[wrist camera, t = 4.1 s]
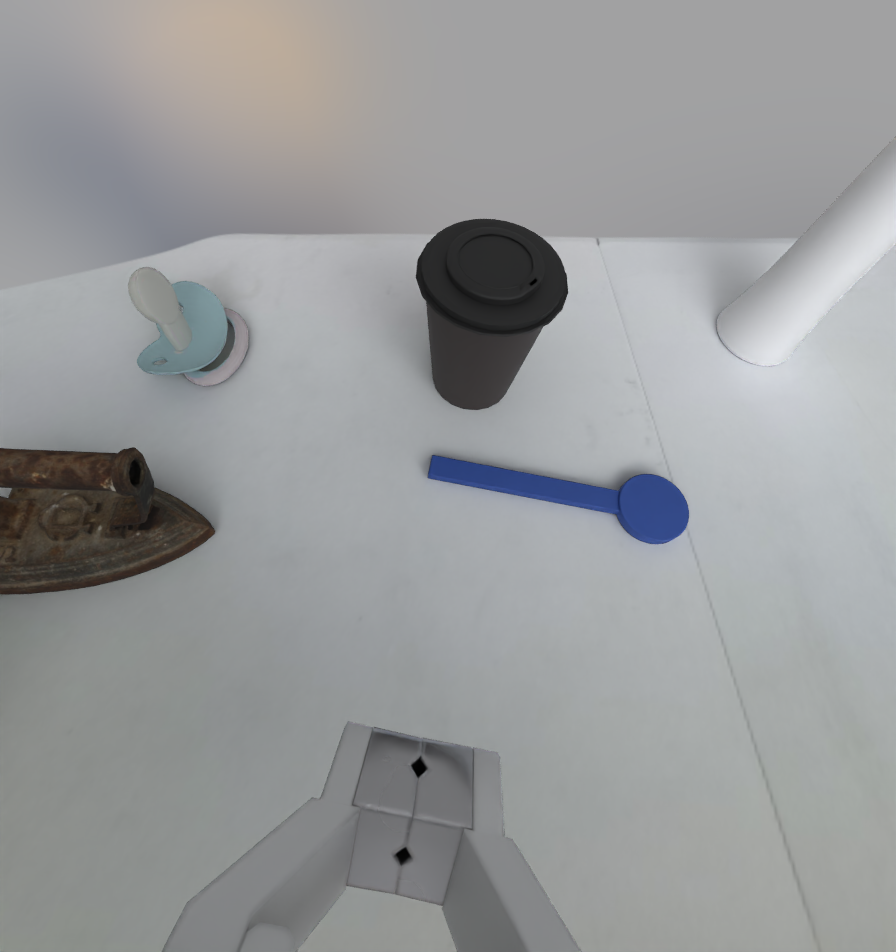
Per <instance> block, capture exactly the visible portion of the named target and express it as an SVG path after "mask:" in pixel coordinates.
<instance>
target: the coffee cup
mask: <svg viewBox="0 0 896 952" xmlns="http://www.w3.org/2000/svg"><path fill="white" fill-rule="evenodd" d="M416 279H417V282H418V285H419V288H420V291H421V294H422V296H423V298H424V299H425V300H426V306H427V317H428V329H429V341H430V352H431V364H432V376H433V381H434V384H435V387H436V389H437V391H438V392H439V393H440V395H441V396H442V397H443V398H444V399H445V400H447V401H448V402H449V403H451V404H452V405H455V406H458V407H460V408H463V409H472V410H478V409H483V408H488V407H490V406H492V405H494V404H496V403H498V402H499V401H500V400H501V399H502V397H503V396H504V395H505V394H506V392H507V390H508V388H509V387H510V385H511V383H512V381H513V380H514V378H515V376H516V374H517V372H518V371H519V369H520V367H521V365H522V364H523V362H524V360H525V358H526V356H527V355H528V353H529V351H530V349H531V348H532V346H533V344H534V342H535V340H536V339H537V337H538V335H539V333H540V331H541V330H542V328H543V326H545V325H547V324H549V323H550V322H551V321H552V320H553V319H554V318H555V317H556V316H557V314H558V313H559V312H560V311H561V310H562V308H563V306H564V303H565V300H566V297H567V295H568V286H567V275H566V272H565V270H564V266H563V264H562V261H561V259H560V258H559V256H558V254H557V253H556V251H555V250H554V249H553V248H552V247H551V245H550V244H548V243H547V242H546V241H545V240H544V239H543V238H541V237H540V236H538V235H537V234H536V233H534V232H532V231H530V230H528V229H526V228H524V227H522V226H519V225H516V224H514V223H510V222H506V221H501V220H495V219H473V220H468V221H463V222H459V223H456V224H453V225H451V226H449V227H447V228H445V229H443V230H442V231H440V232H439V233H438V234H437V235H436V236H434V237H433V238H432V239H431V241H430V242H429V243H427V245H426V246H425V248H424V250H423V252H422V253H421V255H420V257H419V259H418V262H417V272H416Z"/></svg>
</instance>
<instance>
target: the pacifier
mask: <svg viewBox="0 0 896 952" xmlns="http://www.w3.org/2000/svg"><path fill="white" fill-rule="evenodd" d="M128 290H129V295H130V298H131V300H132V302H133V304H134V306H135V307H136V308H137V310H138V311H139V312H140V313H141V314H142V315H143V316H145V317H146V318H147V319H149V320H151V321H153V322H155V323H156V325H157V328H158V330H159V332H160V334H161V336H160V338H159V339H158V340H156V341H155V342H153V343H152V344H151V345H149V346H148V347H147V348H146V349H144V350H143V352H142V353H141V354H140V355H139V357H138V359H137V364H138V366H139V367H140V368H141V369H142V370H143V371H145V372H147V373H151V374H157V375H174V374H182V373H183V374H184V375H185V376H186V378H187V379H188V380H190V381H191V382H193V383H194V384H198V385H202V386H210V385H215V384H218V383H220V382H223V381H224V380H226V379H227V378H229V377H230V376H231V375H232V374H233V373H234V372H235V371H236V370H237V369H238V368H239V366H240V365H241V363H242V361H243V360H244V358H245V355H246V352H247V349H248V341H249V334H248V328H247V325H246V323H245V321H244V319H243V318H242V317H241V316H240V315H239V314H238V313H236V312H235V311H233V310H231V309H226V308H223V306H222V304H221V302H220V301H219V299H218V298H217V297H216V295H215V294H213V293H212V292H211V291H210V290H208V289H207V288H205V287H204V286H202V285H199V284H197V283H194V282H187V281H182V282H177V283H174V284H172V285H171V284H170V282H169V281H168V280H167V278H166V277H165V276H164V275H163V274H162V273H160V272H159V271H157V270H156V269H153V268H150V267H143V268H140V269H138V270H136V271H135V272H134V273H133V274H132V275H131V277H130V279H129V283H128ZM179 305H181V306H183V312H181V310H180V309H179ZM227 323H228V324H230V325H231V326H232V327H233V328H234V331H235V341H234V346H233V348H232V351H231V353H230V354H229V356H228V358H227V359H226V360H225V361H224V362H223V363H222V364H221V365H220V366H218V367H217V368H215V369H213V370H210V371H205V372H201V371H197V370H198V369H201V368H203V367H205V366H207V365H208V364H210V363H211V362H213V361H214V360H215V359H216V358H217V357H218V355H219V354H220V353H221V351H222V350H223V348H224V345H225V343H226V339H227V333H228V325H227ZM160 360H165V361H167V362H166V363H165V364H162V365H154V363H155V362H157V361H160Z"/></svg>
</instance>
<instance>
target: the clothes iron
mask: <svg viewBox="0 0 896 952" xmlns="http://www.w3.org/2000/svg"><path fill="white" fill-rule="evenodd" d="M0 487H5V488H12V490H11V492H10V495H9V497H8V498H5V497H1V496H0V594H32V593H42V592H54V591H63V590H71V589H79V588H85V587H91V586H96V585H100V584H104V583H108V582H113V581H117V580H121V579H124V578H128V577H131V576H134V575H137V574H140V573H143V572H146V571H149V570H151V569H154V568H157V567H159V566H162V565H164V564H166V563H168V562H171V561H173V560H175V559H177V558H179V557H181V556H183V555H185V554H187V553H188V552H190V551H192V550H193V549H195V548H196V547H198V546H199V545H201V544H203V543H204V542H205V541H206V540H207V539H209V538H210V537H211V536H213V535H214V534H215V530H214V528H213V527H212V525H211V524H210V523H209V521H208V520H207V519H206V518H205V517H204V516H202V515H201V514H200V513H199V512H197V511H196V510H195V509H193V508H192V507H190V506H189V505H187V504H186V503H184V502H183V501H181V500H179V499H178V498H176V497H174V496H172V495H170V494H168V493H166V492H164V491H162V490H159V489H157V488H155V487H154V481H153V479H152V476H151V473H150V470H149V468H148V466H147V464H146V461H145V459H144V457H143V455H142V454H141V453H140V452H139V451H138V450H137V449H136V448H129V449H123V450H122V451H120V452H119V453H97V452H75V451H50V450H25V449H5V448H0Z"/></svg>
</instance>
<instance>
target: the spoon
mask: <svg viewBox="0 0 896 952" xmlns="http://www.w3.org/2000/svg"><path fill="white" fill-rule="evenodd" d="M428 478H430V479H435V480H440V481H445V482H451V483H456V484H461V485H466V486H471V487H477V488H482V489H487V490H492V491H497V492H503V493H508V494H513V495H518V496H523V497H528V498H534V499H539V500H544V501H549V502H554V503H560V504H565V505H570V506H575V507H580V508H586V509H591V510H596V511H601V512H606V513H612V514H616V515H617V518H618V520H619V522H620V523H621V525H622V526H623V528H624V529H625V530H626V531H627V532H628V533H629V534H630V535H632V536H633V537H635V538H636V539H638V540H640V541H643V542H646V543H650V544H663V543H666V542H669V541H671V540H673V539H674V538H676V537H678V536H679V535H680V534H681V533H682V532H683V531H684V530H685V528H686V526H687V523H688V519H689V509H688V505H687V502H686V500H685V498H684V496H683V494H682V493H681V492H680V490H679V489H678V488H677V487H676V486H675V485H674V484H672V483H671V482H670V481H668V480H666V479H664V478H662V477H660V476H657V475H652V474H642V475H637V476H634V477H632V478H631V479H629V480H628V481H627V482H626V483H624V484H623V485H622V486H621V488H620V489H619V490H618V491H617V490H612V489H607V488H602V487H596V486H591V485H586V484H581V483H576V482H570V481H565V480H560V479H555V478H550V477H544V476H539V475H534V474H529V473H524V472H518V471H513V470H508V469H503V468H498V467H493V466H487V465H482V464H477V463H472V462H467V461H461V460H456V459H451V458H446V457H441V456H435V455H432V459H431V464H430V469H429V473H428Z"/></svg>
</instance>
